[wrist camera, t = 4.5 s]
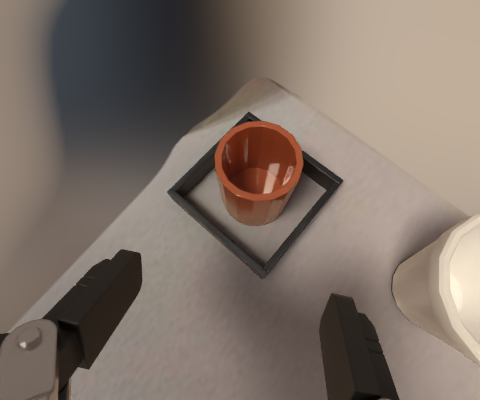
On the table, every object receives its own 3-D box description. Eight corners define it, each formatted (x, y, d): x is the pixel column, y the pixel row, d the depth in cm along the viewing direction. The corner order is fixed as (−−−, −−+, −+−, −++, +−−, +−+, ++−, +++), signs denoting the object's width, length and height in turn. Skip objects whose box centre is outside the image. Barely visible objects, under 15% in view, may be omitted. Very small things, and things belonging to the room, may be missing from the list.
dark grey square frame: (173, 200, 27) (166, 191, 25) (248, 125, 30) (248, 111, 27) (261, 279, 24) (263, 278, 22) (335, 189, 27) (343, 180, 25)
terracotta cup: (209, 198, 27) (196, 162, 19) (250, 155, 28) (253, 106, 21) (258, 239, 26) (264, 219, 18) (298, 192, 27) (320, 154, 19)
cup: (412, 215, 26) (498, 178, 17) (505, 295, 24) (660, 299, 15) (345, 288, 24) (404, 289, 15) (440, 383, 22) (574, 448, 13)
